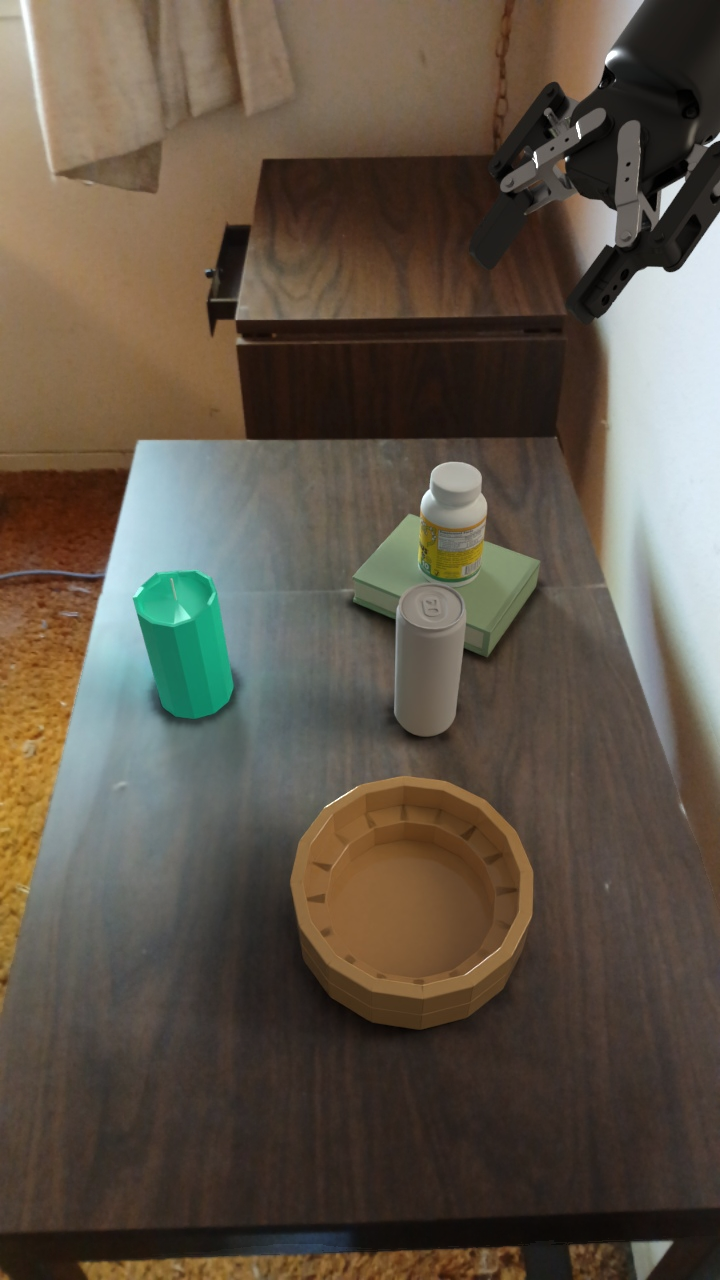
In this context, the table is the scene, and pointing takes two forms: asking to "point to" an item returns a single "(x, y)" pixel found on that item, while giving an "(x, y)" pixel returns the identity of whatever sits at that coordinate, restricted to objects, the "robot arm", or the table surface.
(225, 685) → the candle
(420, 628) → the beverage can
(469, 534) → the supplement bottle
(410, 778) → the bowl
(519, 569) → the book
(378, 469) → the table surface
